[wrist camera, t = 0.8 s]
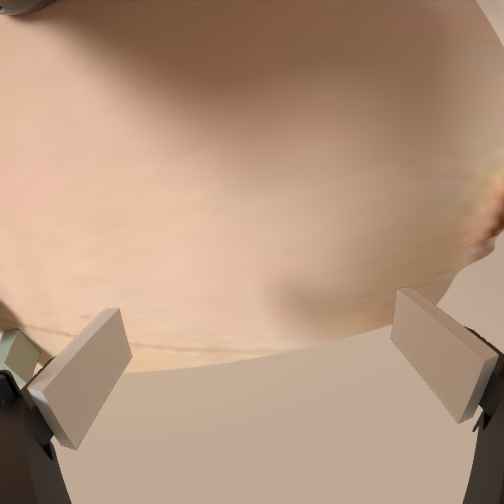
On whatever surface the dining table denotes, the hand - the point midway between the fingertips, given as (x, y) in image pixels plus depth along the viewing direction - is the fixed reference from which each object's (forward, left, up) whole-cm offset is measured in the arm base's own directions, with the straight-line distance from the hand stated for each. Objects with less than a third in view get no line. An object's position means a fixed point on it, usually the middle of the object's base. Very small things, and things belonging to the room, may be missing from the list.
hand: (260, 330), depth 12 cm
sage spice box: (+13, -42, -15) cm, 47 cm away
